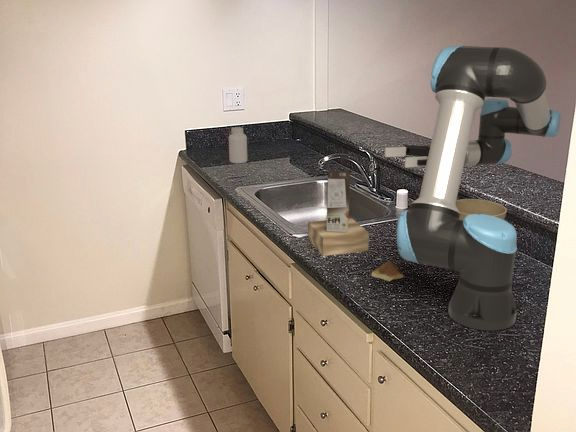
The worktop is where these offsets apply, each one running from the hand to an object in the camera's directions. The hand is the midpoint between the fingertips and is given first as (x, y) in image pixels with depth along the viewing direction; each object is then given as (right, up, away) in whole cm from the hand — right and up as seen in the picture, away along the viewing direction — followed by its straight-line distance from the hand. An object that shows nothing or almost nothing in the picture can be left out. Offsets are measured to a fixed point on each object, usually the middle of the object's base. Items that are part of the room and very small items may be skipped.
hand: (394, 157), depth 190 cm
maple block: (-16, -26, +7) cm, 31 cm away
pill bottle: (-53, +7, +103) cm, 116 cm away
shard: (-5, -33, -12) cm, 35 cm away
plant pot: (+21, -30, -5) cm, 37 cm away
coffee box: (-16, -20, +5) cm, 27 cm away
